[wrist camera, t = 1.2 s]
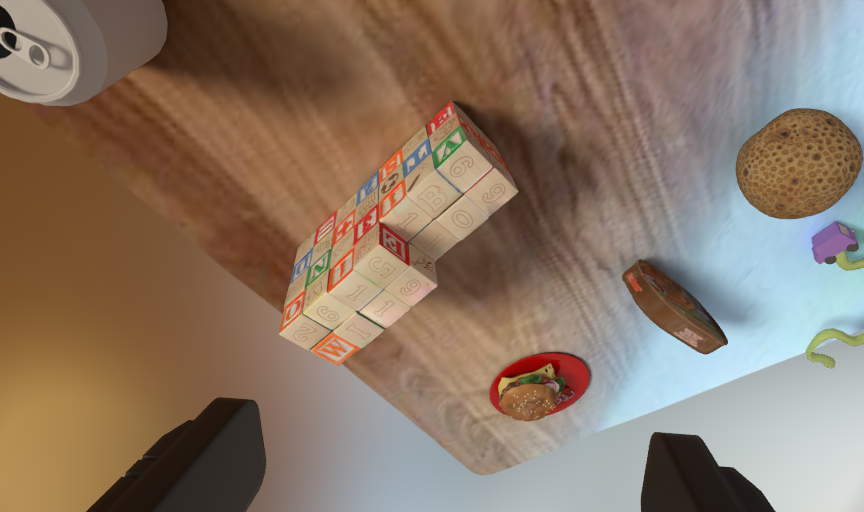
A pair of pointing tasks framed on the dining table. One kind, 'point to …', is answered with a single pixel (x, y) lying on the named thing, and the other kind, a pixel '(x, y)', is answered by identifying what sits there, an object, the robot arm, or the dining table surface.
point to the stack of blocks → (393, 237)
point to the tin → (673, 308)
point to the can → (75, 46)
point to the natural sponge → (798, 164)
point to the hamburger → (539, 386)
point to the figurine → (832, 250)
